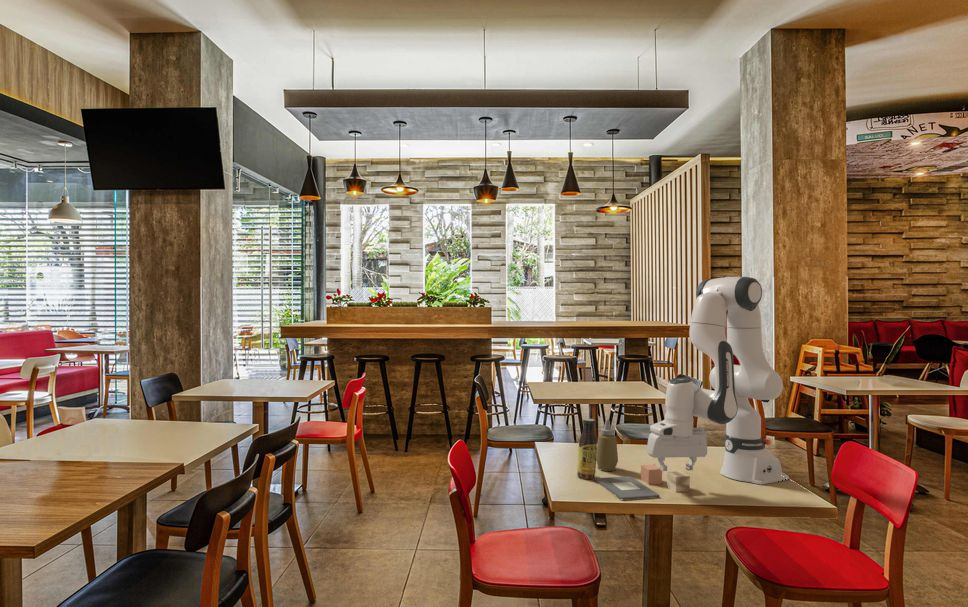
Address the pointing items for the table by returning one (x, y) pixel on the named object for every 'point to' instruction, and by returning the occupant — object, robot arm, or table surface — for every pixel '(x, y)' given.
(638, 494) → the board
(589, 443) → the sauce bottle
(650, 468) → the terracotta block
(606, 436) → the squeeze bottle
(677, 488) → the birch block
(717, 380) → the robot arm
